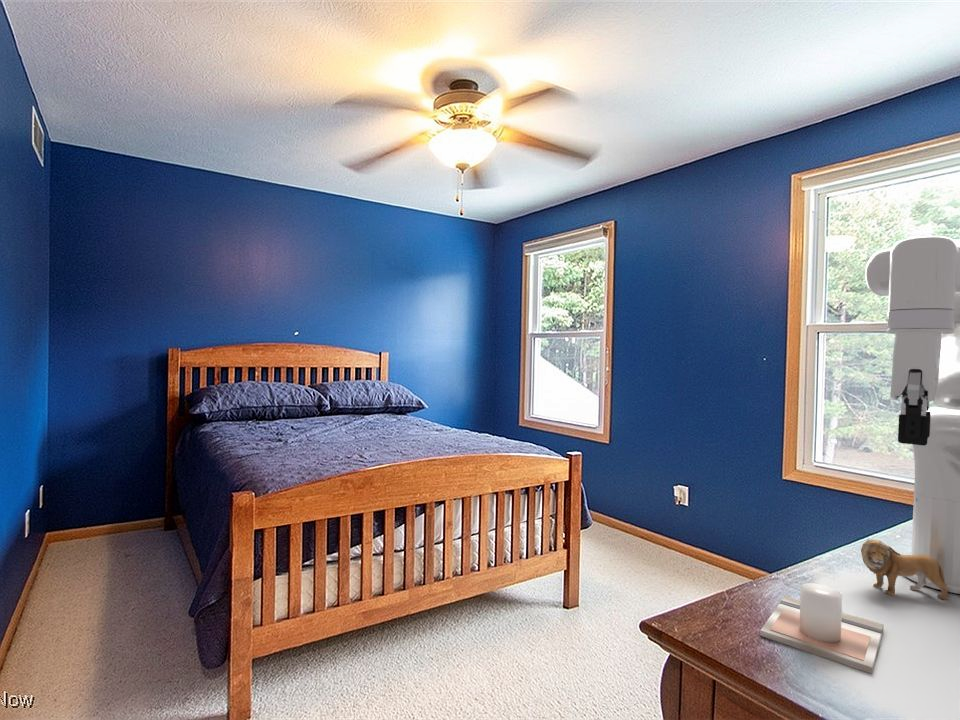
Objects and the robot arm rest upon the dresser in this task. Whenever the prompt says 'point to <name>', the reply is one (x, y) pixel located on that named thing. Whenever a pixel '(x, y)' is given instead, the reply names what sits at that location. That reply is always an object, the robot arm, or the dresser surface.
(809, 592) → the white rounded cylinder
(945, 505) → the robot arm
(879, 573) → the lion figurine
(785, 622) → the board
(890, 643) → the dresser surface
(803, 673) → the dresser surface
